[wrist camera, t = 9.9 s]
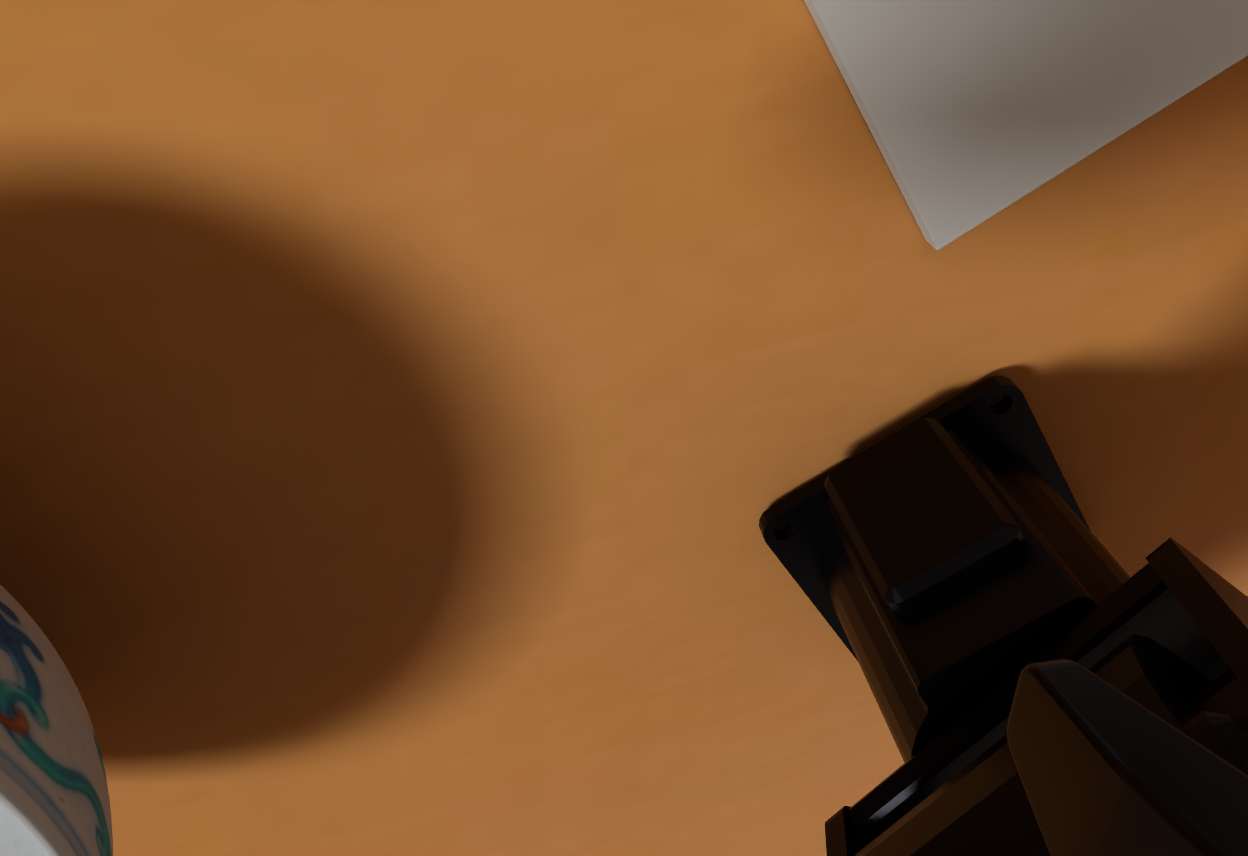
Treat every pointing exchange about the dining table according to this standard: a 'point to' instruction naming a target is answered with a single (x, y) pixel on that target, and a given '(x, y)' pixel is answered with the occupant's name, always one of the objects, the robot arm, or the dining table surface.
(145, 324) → the dining table surface
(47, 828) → the chinaware
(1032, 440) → the robot arm
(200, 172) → the dining table surface
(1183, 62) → the grey mat
